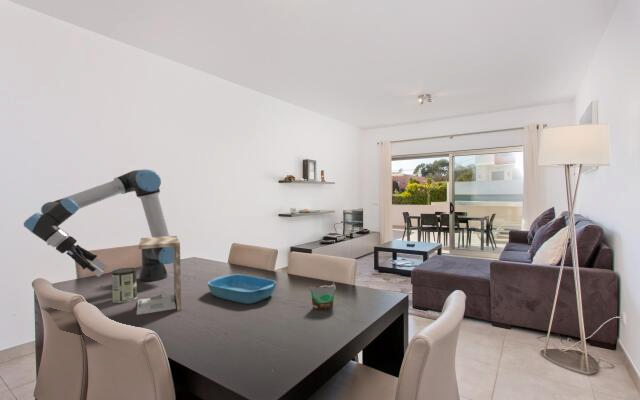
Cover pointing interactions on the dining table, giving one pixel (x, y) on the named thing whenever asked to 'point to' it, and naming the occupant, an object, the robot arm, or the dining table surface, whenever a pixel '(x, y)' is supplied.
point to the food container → (323, 296)
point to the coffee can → (124, 285)
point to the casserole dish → (242, 288)
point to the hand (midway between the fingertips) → (103, 271)
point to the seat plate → (156, 304)
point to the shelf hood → (173, 242)
